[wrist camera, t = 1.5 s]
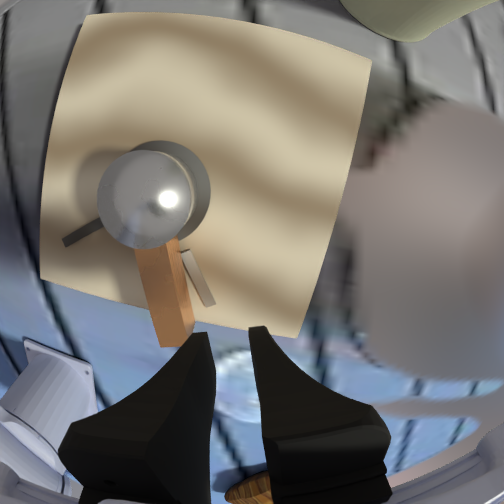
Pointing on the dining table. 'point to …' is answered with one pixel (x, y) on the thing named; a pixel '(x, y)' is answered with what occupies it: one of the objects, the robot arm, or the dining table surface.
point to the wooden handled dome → (153, 231)
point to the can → (409, 15)
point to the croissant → (251, 490)
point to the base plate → (206, 158)
